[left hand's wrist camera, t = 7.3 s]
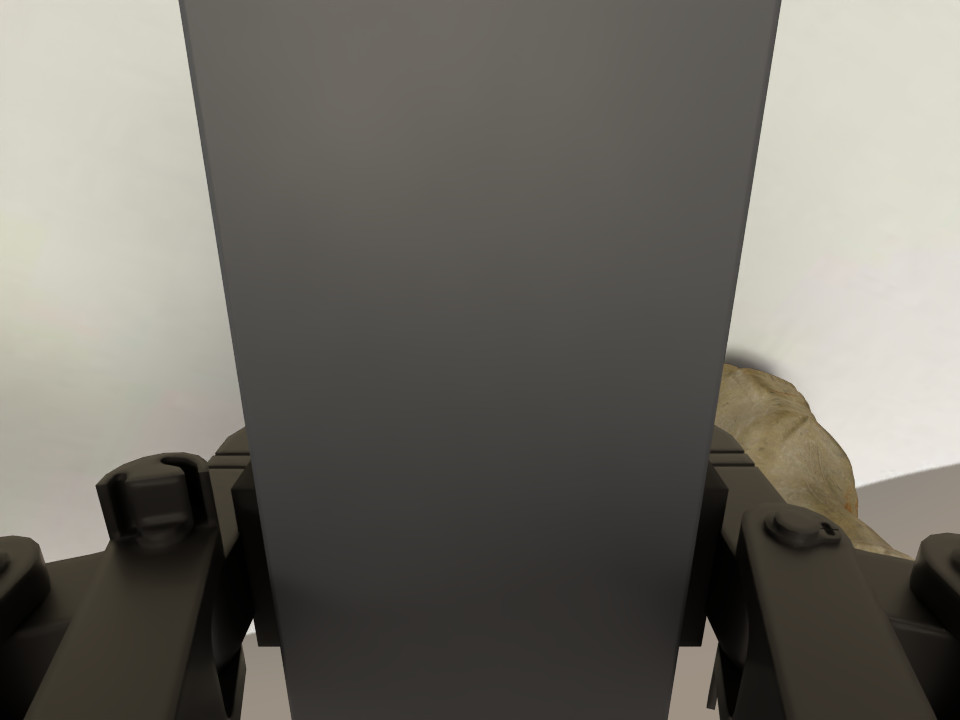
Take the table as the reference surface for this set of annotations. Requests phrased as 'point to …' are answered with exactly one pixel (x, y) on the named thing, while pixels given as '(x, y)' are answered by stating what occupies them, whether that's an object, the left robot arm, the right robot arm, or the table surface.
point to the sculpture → (793, 450)
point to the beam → (479, 332)
